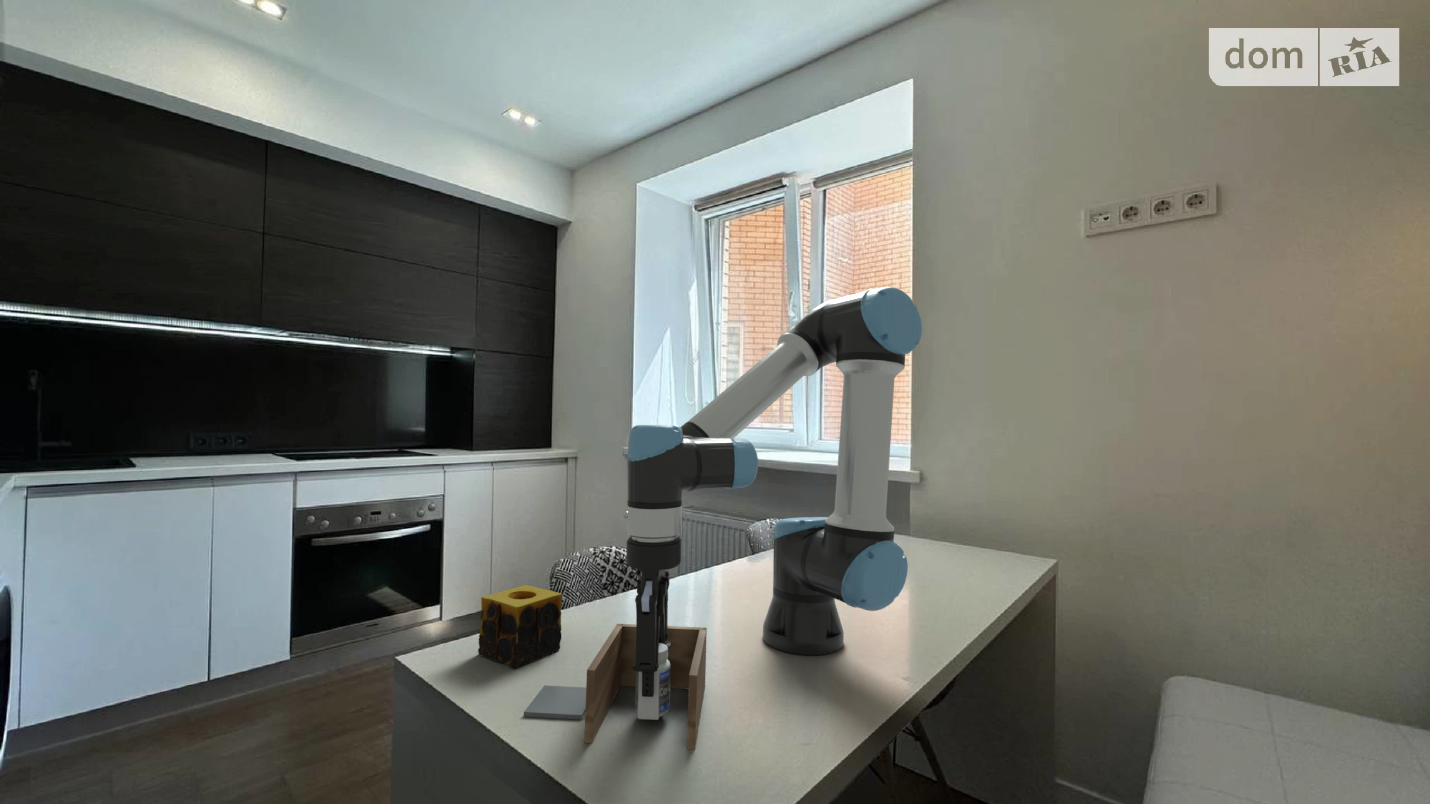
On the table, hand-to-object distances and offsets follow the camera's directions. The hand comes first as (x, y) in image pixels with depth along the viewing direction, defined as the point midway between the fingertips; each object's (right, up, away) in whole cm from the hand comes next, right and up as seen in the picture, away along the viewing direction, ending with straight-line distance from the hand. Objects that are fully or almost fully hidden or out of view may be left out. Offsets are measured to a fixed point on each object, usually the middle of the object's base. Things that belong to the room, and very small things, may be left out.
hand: (652, 707), depth 79 cm
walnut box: (0, -2, +2) cm, 2 cm away
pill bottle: (0, -1, 0) cm, 1 cm away
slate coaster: (-13, -1, +3) cm, 14 cm away
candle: (-25, -2, +21) cm, 33 cm away
